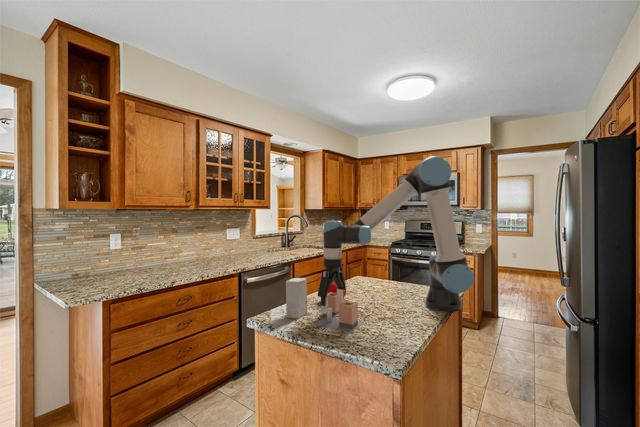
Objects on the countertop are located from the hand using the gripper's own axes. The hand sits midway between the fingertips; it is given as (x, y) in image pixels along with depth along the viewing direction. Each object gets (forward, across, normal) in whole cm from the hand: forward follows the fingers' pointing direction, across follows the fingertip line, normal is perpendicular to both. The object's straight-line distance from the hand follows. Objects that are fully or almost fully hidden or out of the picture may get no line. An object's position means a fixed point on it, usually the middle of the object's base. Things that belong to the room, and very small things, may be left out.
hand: (332, 308), depth 129 cm
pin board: (+2, +10, +8) cm, 13 cm away
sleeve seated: (+1, +10, +12) cm, 16 cm away
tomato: (+2, -16, -8) cm, 18 cm away
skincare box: (+2, +9, -12) cm, 15 cm away
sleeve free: (+2, 0, 0) cm, 2 cm away
